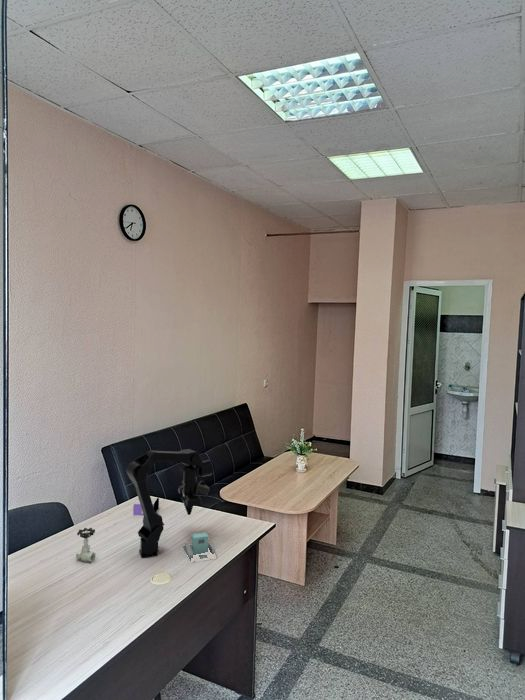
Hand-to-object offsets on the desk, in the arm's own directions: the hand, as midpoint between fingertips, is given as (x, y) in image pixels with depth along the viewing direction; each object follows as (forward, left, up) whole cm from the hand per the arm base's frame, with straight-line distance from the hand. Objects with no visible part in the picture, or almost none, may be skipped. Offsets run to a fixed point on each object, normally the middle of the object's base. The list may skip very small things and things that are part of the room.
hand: (189, 514), depth 205 cm
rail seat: (+2, -12, -12) cm, 17 cm away
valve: (-42, -4, -12) cm, 44 cm away
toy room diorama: (-12, +36, -13) cm, 40 cm away
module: (+2, -12, -11) cm, 17 cm away
